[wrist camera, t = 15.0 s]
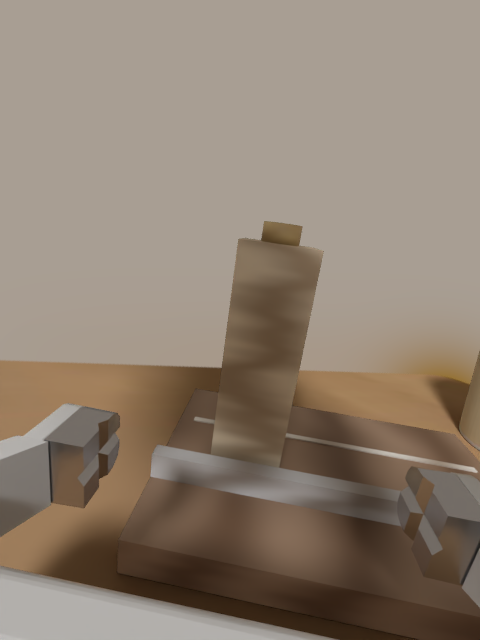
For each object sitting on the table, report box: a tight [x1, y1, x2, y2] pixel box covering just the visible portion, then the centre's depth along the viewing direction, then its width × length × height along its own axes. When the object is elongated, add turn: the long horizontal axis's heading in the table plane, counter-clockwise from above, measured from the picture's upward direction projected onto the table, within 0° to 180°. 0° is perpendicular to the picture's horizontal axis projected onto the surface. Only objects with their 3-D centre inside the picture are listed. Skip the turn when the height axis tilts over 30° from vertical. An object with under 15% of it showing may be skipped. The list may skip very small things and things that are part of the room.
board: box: [117, 389, 480, 640], centre depth 20 cm, size 22×14×4 cm, turn 84°
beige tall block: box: [211, 221, 324, 468], centre depth 18 cm, size 4×5×14 cm
